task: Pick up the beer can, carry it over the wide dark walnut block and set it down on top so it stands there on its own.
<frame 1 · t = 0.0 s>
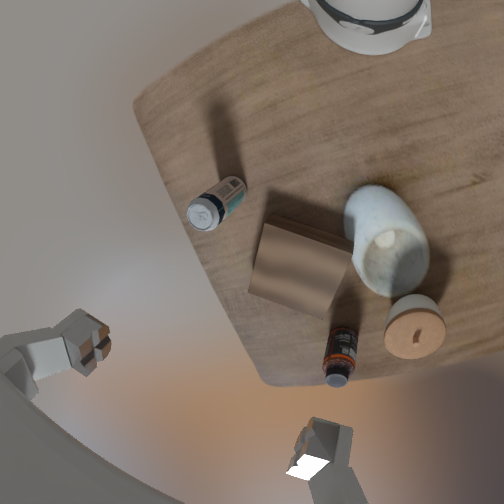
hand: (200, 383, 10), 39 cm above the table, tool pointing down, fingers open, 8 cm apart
beer can: (234, 188, 50), on the table
lidded jar: (412, 306, 49), on the table
walnut block: (301, 262, 52), on the table
supplement bottle: (343, 336, 57), on the table
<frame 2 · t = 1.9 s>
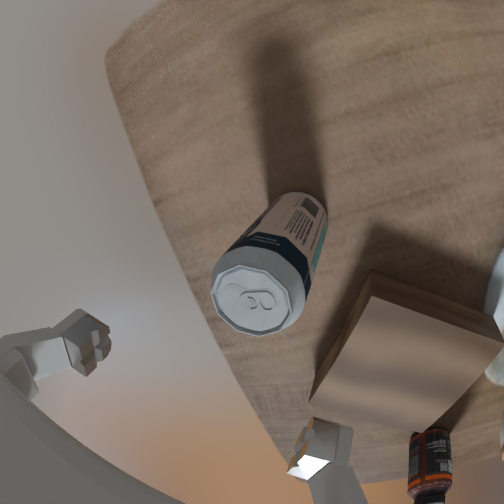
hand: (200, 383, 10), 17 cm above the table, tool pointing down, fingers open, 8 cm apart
beer can: (299, 218, 24), on the table
walnut block: (403, 351, 26), on the table
supplement bottle: (429, 436, 30), on the table
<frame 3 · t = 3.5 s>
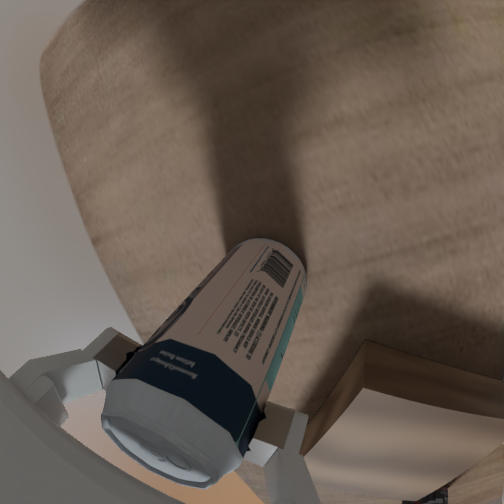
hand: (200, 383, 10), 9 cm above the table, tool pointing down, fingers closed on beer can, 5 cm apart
beer can: (267, 272, 18), on the table, touching gripper
walnut block: (401, 423, 19), on the table
supplement bottle: (425, 490, 23), on the table
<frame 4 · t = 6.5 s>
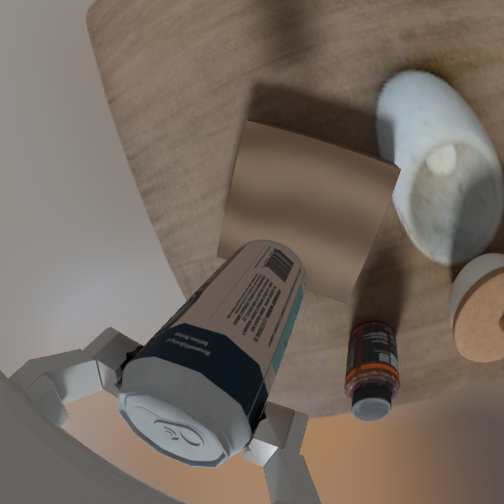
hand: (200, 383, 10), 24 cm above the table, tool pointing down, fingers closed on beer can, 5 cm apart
beer can: (269, 272, 19), point 14 cm above the table, touching gripper
lidded jar: (478, 281, 27), on the table
walnut block: (307, 204, 31), on the table
supplement bottle: (372, 337, 35), on the table
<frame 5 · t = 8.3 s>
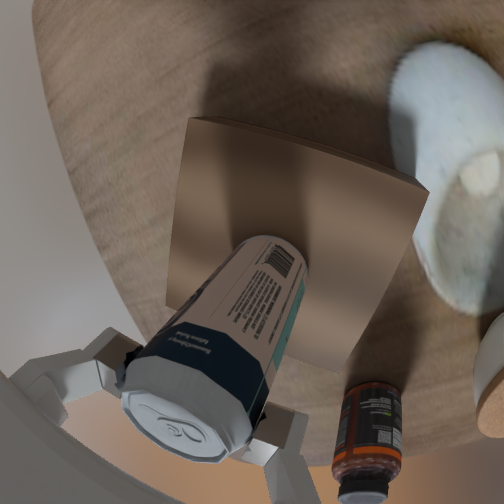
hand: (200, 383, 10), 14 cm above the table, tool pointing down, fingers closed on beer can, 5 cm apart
beer can: (271, 268, 19), point 4 cm above the table, touching gripper, walnut block
walnut block: (287, 236, 22), on the table
supplement bottle: (372, 397, 26), on the table
when the fingers open (13 cm above the table, at t = 9.6 s): beer can stays where it is, resting on walnut block.
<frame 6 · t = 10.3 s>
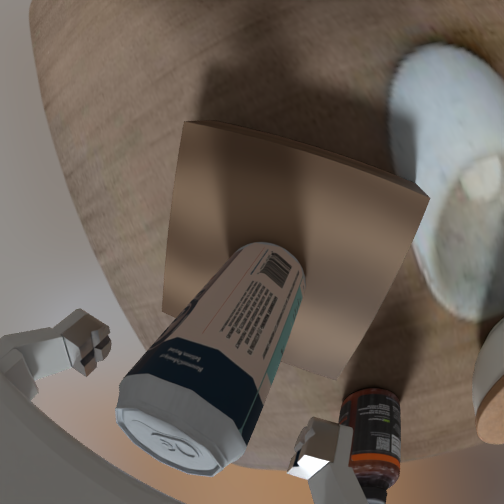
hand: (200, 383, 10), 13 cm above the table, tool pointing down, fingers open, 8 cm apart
beer can: (268, 274, 19), point 4 cm above the table, touching walnut block
walnut block: (285, 242, 21), on the table
supplement bottle: (371, 402, 25), on the table
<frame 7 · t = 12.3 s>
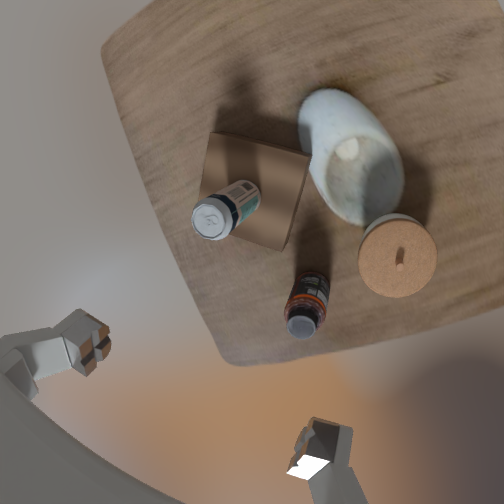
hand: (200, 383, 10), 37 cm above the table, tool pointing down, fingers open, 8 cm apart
beer can: (245, 195, 42), point 4 cm above the table, touching walnut block
lidded jar: (392, 239, 42), on the table
walnut block: (255, 186, 45), on the table
supplement bottle: (312, 286, 49), on the table
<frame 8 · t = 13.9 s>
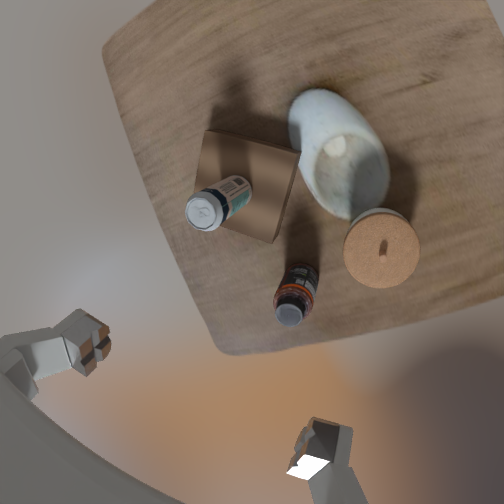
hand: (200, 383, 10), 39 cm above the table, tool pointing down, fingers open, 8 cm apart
beer can: (238, 190, 45), point 4 cm above the table, touching walnut block
lidded jar: (378, 232, 44), on the table
walnut block: (247, 181, 48), on the table
supplement bottle: (302, 277, 52), on the table
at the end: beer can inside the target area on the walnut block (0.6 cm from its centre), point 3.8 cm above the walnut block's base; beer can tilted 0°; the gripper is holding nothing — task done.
